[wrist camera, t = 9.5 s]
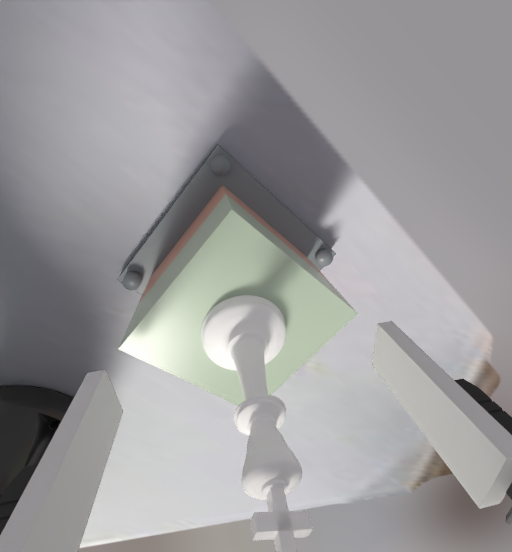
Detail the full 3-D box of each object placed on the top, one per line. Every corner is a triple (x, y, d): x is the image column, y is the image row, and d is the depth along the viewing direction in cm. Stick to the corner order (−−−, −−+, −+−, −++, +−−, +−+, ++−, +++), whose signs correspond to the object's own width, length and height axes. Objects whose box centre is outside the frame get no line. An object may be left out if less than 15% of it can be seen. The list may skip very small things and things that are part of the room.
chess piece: (211, 287, 14) (217, 515, 5) (296, 302, 16) (412, 508, 7) (193, 358, 16) (175, 617, 7) (270, 367, 18) (334, 596, 9)
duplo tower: (239, 344, 30) (254, 438, 20) (121, 274, 24) (64, 357, 15) (331, 249, 27) (400, 307, 17) (217, 144, 21) (225, 143, 12)
